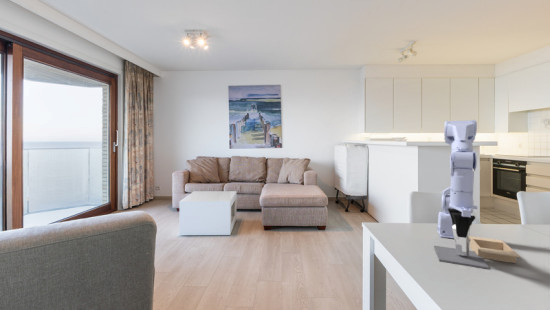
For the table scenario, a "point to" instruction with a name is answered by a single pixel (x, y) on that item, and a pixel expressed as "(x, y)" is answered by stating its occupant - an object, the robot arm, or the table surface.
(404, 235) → the table surface
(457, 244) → the milkshake
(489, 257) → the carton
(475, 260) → the mat
